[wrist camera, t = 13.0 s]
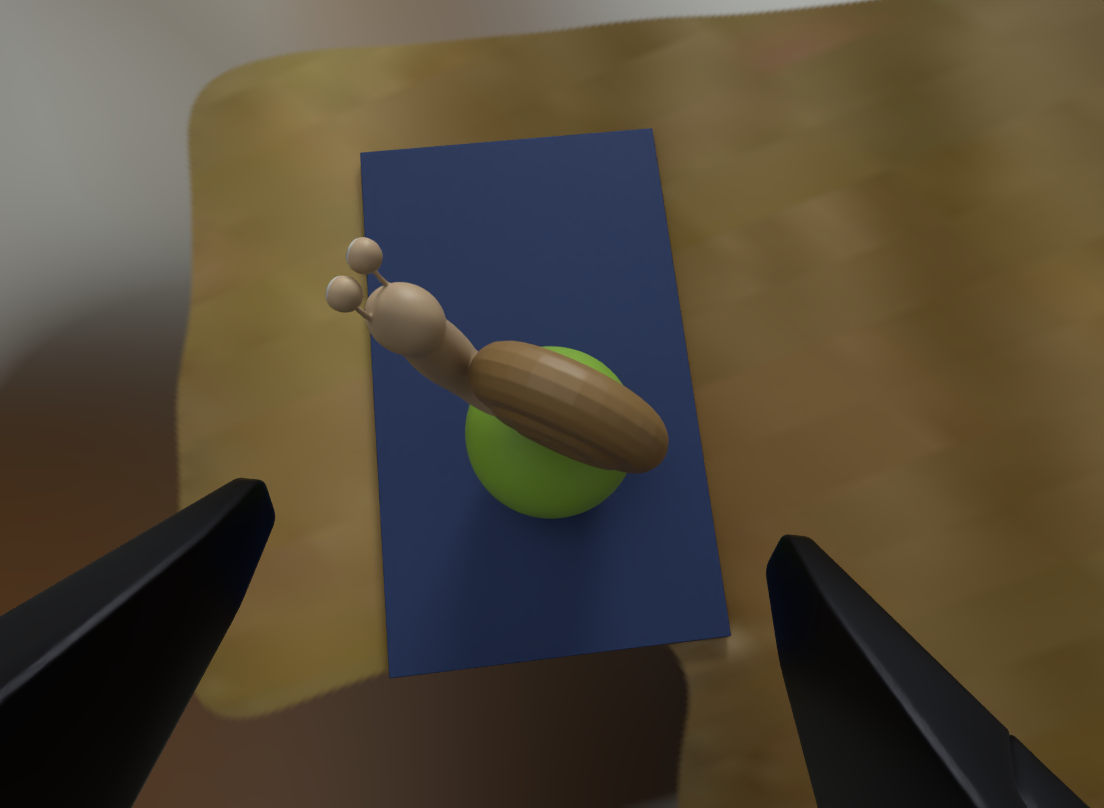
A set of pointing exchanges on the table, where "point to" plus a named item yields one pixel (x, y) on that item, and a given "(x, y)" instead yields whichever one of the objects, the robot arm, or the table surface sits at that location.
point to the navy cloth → (543, 320)
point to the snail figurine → (515, 400)
